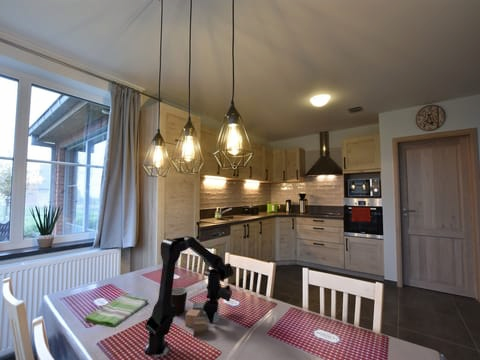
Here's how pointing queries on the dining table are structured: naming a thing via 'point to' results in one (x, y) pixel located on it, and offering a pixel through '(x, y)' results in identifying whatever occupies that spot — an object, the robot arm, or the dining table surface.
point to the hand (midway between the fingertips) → (213, 317)
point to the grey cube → (215, 317)
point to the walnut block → (199, 326)
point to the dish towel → (117, 310)
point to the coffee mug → (179, 299)
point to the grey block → (199, 307)
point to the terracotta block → (191, 317)
